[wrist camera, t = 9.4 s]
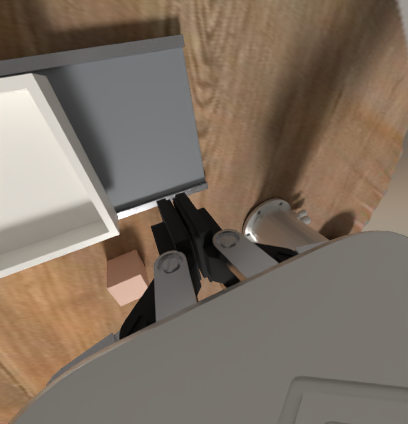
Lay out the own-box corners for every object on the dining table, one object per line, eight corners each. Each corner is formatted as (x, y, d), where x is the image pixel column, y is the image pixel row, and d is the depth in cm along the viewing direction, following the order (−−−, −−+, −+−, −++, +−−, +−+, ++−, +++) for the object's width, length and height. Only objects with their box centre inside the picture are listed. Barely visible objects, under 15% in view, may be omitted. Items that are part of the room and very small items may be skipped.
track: (178, 37, 23) (182, 34, 21) (203, 184, 34) (208, 188, 32) (-212, 95, 15) (-245, 95, 14) (-16, 258, 26) (-23, 268, 25)
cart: (53, 77, 20) (31, 73, 14) (117, 206, 29) (119, 234, 23) (-158, 113, 16) (-296, 126, 10) (-8, 247, 25) (-41, 292, 19)
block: (135, 249, 35) (140, 274, 30) (145, 267, 38) (150, 292, 33) (107, 260, 34) (107, 288, 29) (119, 278, 37) (120, 306, 32)
